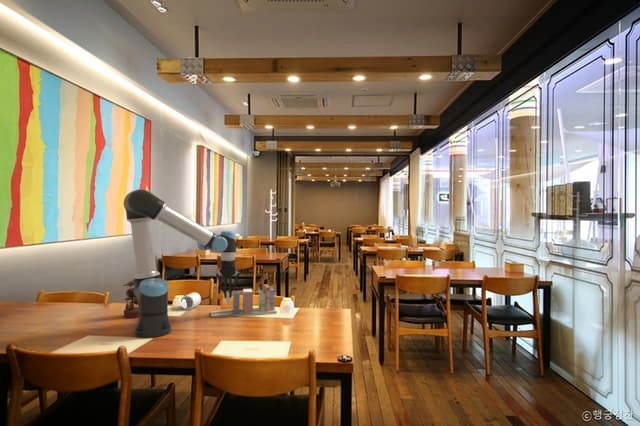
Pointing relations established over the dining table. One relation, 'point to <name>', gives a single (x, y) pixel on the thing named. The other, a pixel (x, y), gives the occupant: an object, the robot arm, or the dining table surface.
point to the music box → (131, 303)
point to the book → (247, 300)
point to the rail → (264, 308)
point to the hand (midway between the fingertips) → (227, 304)
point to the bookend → (236, 301)
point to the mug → (192, 300)
